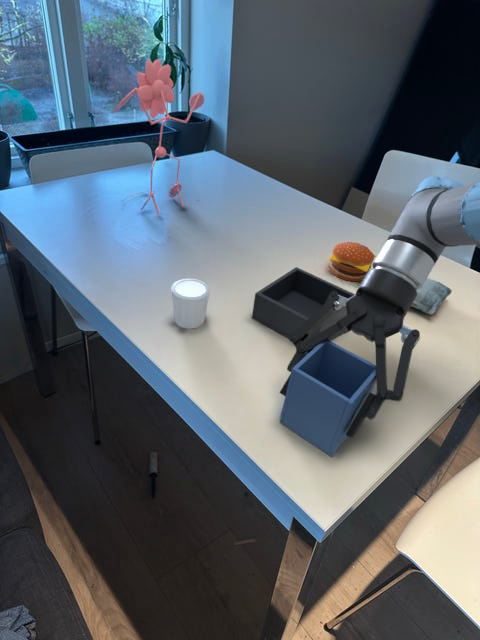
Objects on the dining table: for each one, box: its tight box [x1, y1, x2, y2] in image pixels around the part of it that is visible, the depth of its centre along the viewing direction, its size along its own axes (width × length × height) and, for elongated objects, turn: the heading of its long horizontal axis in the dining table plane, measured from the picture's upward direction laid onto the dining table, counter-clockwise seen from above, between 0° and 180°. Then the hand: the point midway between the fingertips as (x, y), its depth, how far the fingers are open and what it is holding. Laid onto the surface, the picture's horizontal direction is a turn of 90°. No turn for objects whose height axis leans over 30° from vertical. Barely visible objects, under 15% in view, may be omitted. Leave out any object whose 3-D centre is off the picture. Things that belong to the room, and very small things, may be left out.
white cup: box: [170, 278, 211, 330], centre depth 82 cm, size 7×7×7 cm
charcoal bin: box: [251, 266, 355, 342], centre depth 86 cm, size 14×14×6 cm
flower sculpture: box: [111, 58, 205, 217], centre depth 113 cm, size 15×26×35 cm, turn 142°
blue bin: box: [279, 341, 377, 458], centre depth 64 cm, size 9×9×11 cm
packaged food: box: [411, 277, 453, 316], centre depth 95 cm, size 9×12×5 cm
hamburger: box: [328, 241, 377, 282], centre depth 102 cm, size 9×10×7 cm
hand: (315, 414), depth 63 cm, fingers open, 10 cm apart
